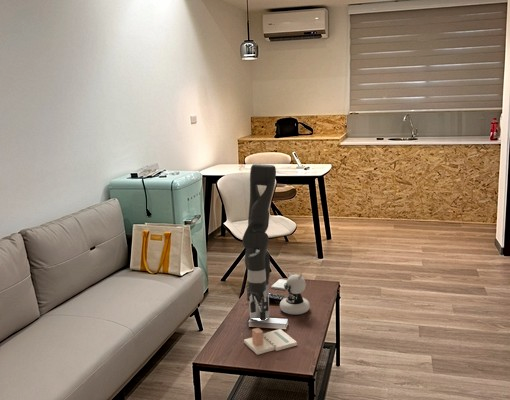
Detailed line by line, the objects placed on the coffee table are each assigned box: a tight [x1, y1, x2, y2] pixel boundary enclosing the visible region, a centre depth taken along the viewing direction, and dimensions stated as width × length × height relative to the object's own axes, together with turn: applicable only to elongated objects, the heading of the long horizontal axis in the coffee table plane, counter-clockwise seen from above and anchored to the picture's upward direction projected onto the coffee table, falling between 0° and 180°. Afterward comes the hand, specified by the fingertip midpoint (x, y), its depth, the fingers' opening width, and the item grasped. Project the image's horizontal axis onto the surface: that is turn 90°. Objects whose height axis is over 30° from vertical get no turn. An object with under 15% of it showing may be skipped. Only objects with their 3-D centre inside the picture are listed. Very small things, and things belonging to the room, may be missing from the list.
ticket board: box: [263, 328, 298, 352], centre depth 229 cm, size 14×10×2 cm
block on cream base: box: [243, 327, 275, 355], centre depth 224 cm, size 12×8×7 cm, turn 27°
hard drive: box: [270, 278, 287, 291], centre depth 292 cm, size 2×8×12 cm
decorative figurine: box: [279, 271, 311, 316], centre depth 258 cm, size 15×15×20 cm
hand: (257, 315), depth 221 cm, fingers open, 8 cm apart
